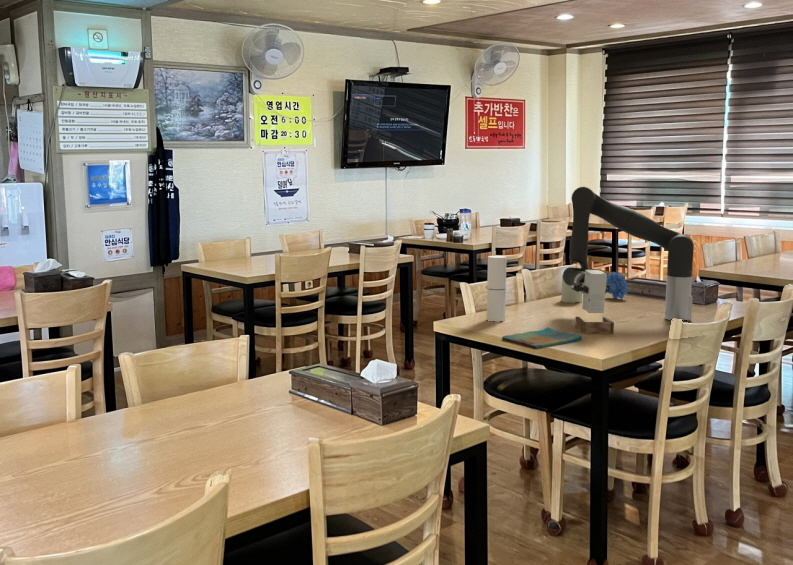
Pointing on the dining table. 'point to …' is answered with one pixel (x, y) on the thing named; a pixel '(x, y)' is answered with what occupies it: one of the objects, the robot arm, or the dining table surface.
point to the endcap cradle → (595, 326)
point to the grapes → (617, 285)
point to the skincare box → (594, 291)
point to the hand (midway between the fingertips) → (596, 290)
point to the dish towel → (542, 338)
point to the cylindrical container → (496, 288)
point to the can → (570, 294)
